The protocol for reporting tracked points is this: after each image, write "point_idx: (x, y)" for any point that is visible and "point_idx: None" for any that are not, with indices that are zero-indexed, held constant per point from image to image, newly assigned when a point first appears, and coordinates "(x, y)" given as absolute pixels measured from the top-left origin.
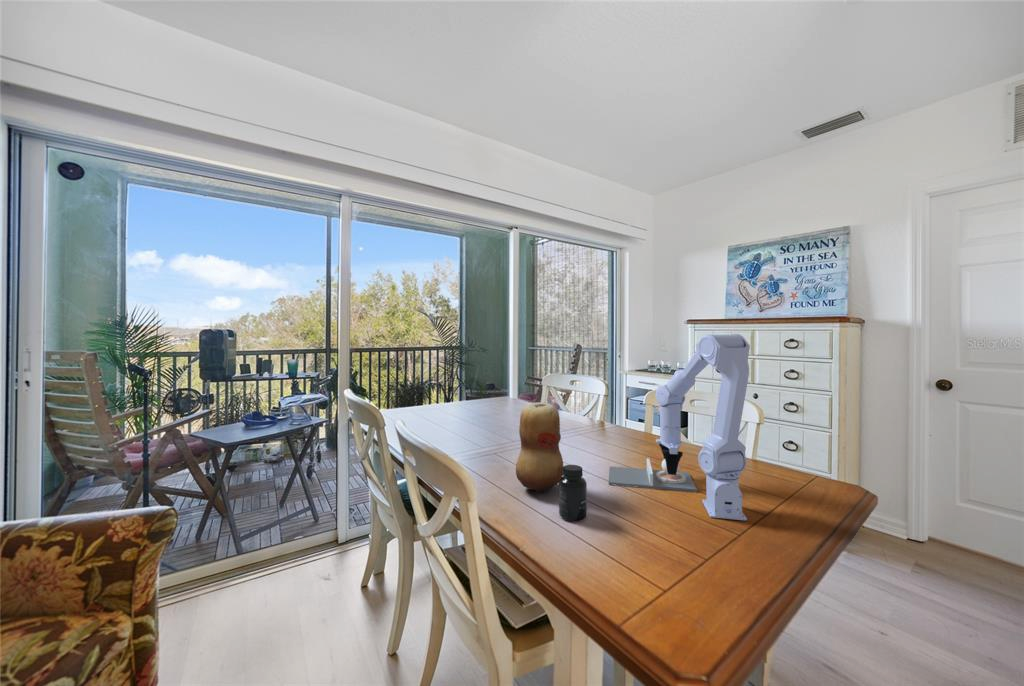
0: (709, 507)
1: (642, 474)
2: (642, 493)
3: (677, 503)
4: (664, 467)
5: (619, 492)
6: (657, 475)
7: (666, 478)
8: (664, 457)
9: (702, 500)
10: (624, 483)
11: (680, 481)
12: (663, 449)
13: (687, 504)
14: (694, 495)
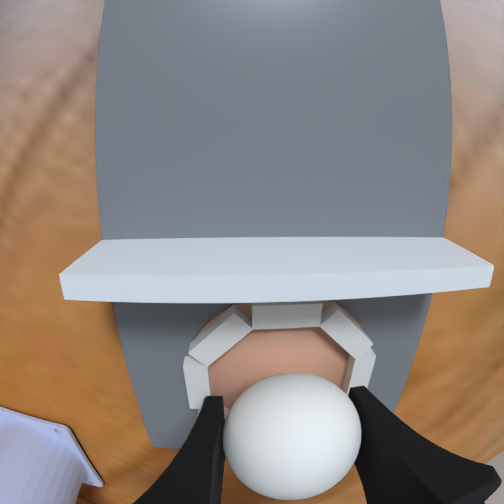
0: (9, 421)
1: (334, 194)
2: (27, 185)
3: (4, 340)
4: (246, 406)
5: (19, 58)
6: (267, 312)
7: (265, 355)
8: (385, 437)
9: (57, 427)
10: (98, 56)
11: None
12: (414, 492)
13: (17, 372)
14: (115, 421)
